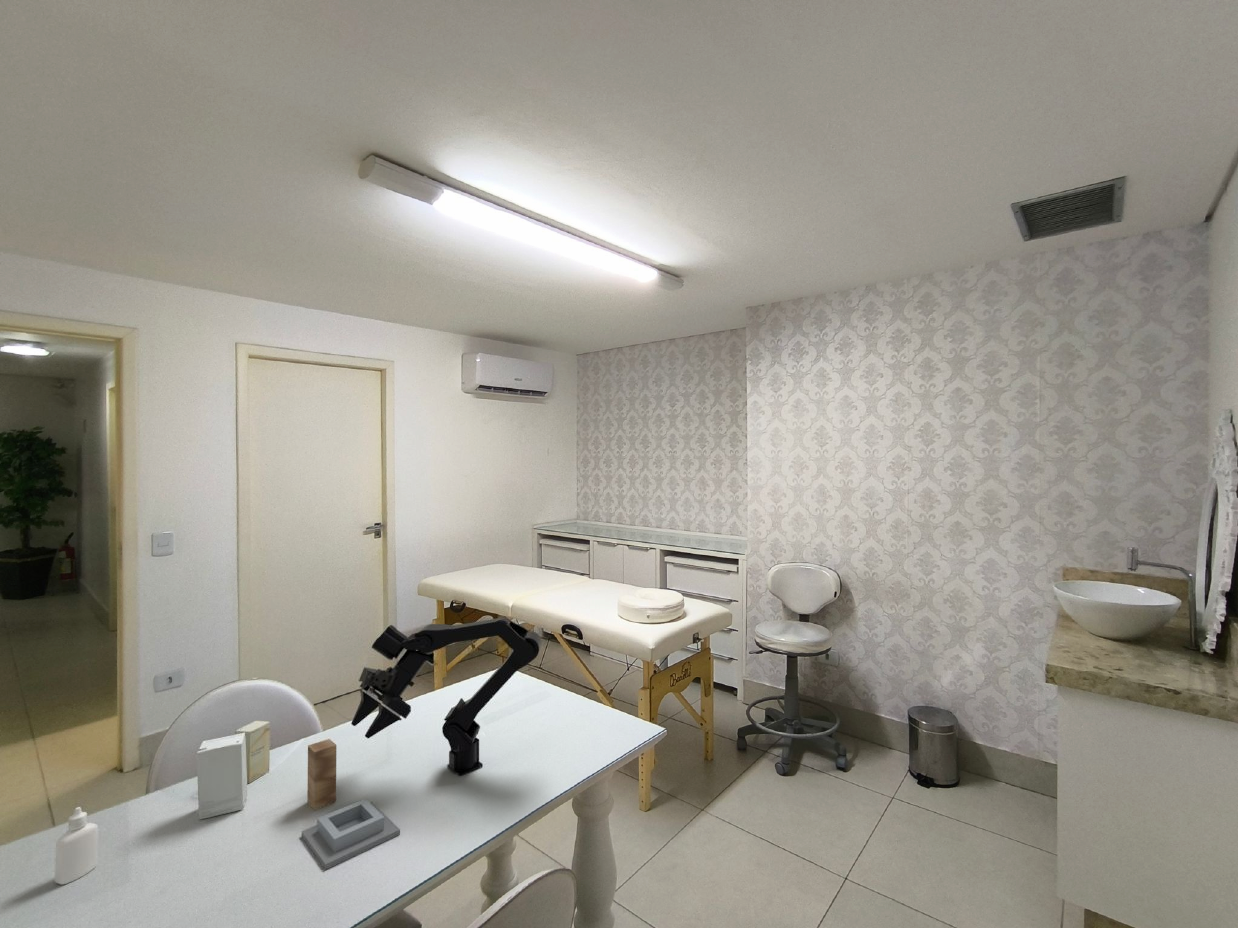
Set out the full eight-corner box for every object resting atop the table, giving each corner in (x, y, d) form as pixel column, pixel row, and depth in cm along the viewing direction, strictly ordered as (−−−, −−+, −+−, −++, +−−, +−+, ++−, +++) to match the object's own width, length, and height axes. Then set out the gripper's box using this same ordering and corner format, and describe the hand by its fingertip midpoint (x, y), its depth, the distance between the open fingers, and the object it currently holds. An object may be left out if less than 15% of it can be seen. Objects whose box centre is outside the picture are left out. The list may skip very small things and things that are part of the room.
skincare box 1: (247, 797, 126) (248, 730, 126) (242, 811, 120) (243, 742, 121) (202, 806, 122) (203, 738, 123) (195, 821, 117) (196, 750, 117)
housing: (371, 806, 122) (371, 790, 122) (399, 834, 112) (399, 816, 112) (301, 835, 112) (301, 818, 112) (325, 869, 102) (325, 850, 102)
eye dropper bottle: (55, 876, 101) (56, 809, 101) (97, 861, 105) (98, 796, 105) (54, 888, 98) (55, 819, 98) (98, 872, 102) (99, 806, 102)
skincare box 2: (248, 784, 131) (249, 732, 132) (233, 782, 132) (233, 730, 132) (270, 770, 137) (271, 721, 138) (255, 768, 138) (256, 719, 139)
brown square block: (328, 793, 127) (329, 738, 127) (336, 801, 124) (336, 744, 124) (307, 801, 124) (307, 745, 124) (314, 810, 121) (314, 752, 121)
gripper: (367, 645, 140) (320, 702, 132) (396, 662, 127) (346, 726, 119) (399, 669, 146) (355, 725, 138) (430, 686, 132) (384, 750, 124)
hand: (359, 730), depth 129 cm, fingers open, 9 cm apart
